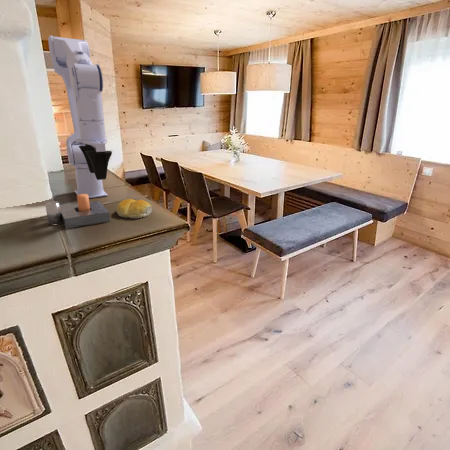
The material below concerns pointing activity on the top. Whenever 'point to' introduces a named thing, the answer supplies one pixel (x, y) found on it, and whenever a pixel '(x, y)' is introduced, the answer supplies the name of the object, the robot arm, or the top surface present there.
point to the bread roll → (134, 208)
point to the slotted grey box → (76, 214)
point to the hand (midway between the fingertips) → (97, 175)
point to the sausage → (83, 202)
